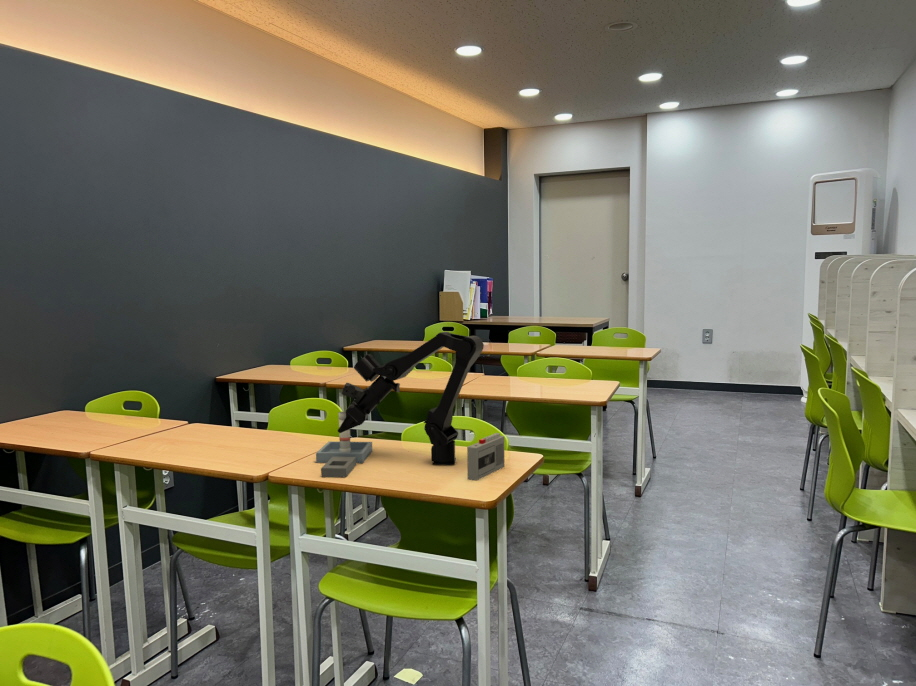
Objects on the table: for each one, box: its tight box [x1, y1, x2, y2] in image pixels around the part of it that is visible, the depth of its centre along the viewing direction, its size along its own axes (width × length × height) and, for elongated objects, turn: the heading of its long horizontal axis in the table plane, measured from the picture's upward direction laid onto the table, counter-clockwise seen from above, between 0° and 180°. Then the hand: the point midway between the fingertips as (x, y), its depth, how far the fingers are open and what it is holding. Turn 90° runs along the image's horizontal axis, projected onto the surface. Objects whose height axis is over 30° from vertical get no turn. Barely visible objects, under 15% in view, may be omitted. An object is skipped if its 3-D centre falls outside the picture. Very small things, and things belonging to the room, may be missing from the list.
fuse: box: [338, 410, 351, 452], centre depth 200 cm, size 3×3×13 cm
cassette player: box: [466, 432, 505, 481], centre depth 183 cm, size 16×3×10 cm, turn 147°
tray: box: [315, 440, 373, 464], centre depth 201 cm, size 14×14×3 cm
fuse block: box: [320, 457, 357, 478], centre depth 186 cm, size 7×12×2 cm, turn 176°
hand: (341, 428), depth 200 cm, fingers open, 9 cm apart
